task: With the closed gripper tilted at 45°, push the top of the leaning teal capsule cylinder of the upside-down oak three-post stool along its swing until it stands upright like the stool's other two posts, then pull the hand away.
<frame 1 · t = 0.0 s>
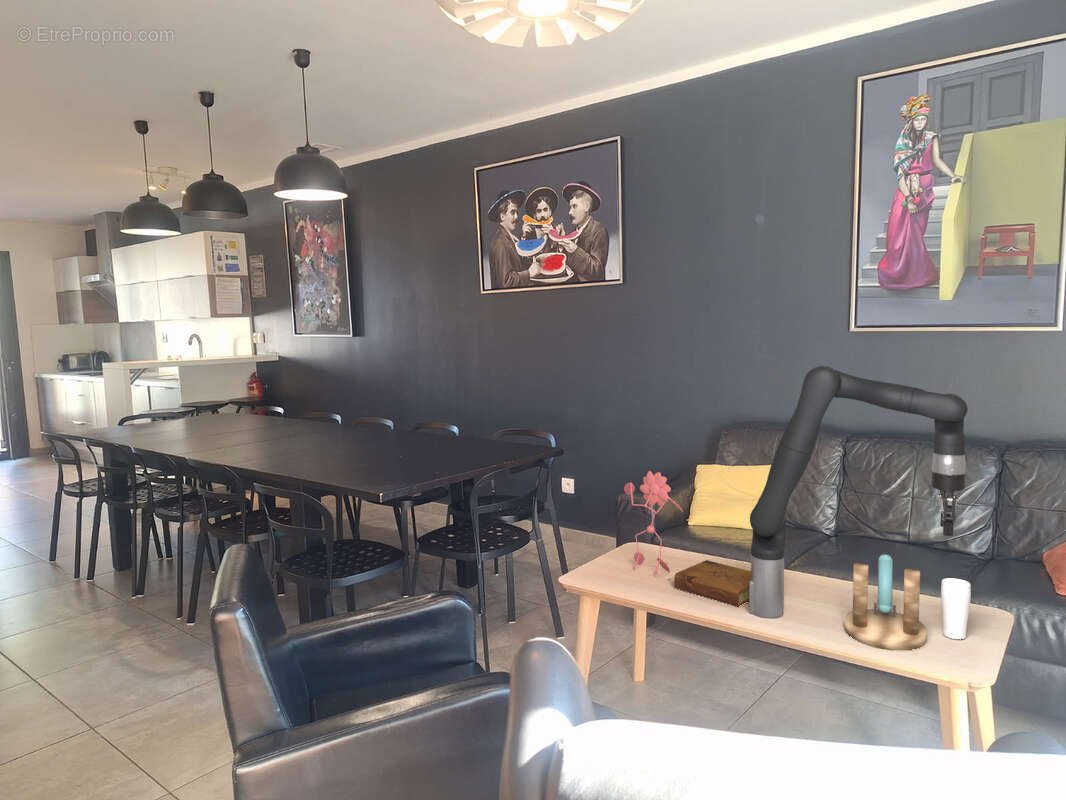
hand: (946, 531, 182), 29 cm above the table, tool pointing down, fingers open, 8 cm apart
diary: (721, 592, 224), on the table
figurine: (656, 569, 245), on the table
drinking glass: (954, 637, 186), on the table
teal capsule cylinder: (885, 583, 196), point 11 cm above the table, hinge at -30.0°
stool: (884, 634, 188), on the table
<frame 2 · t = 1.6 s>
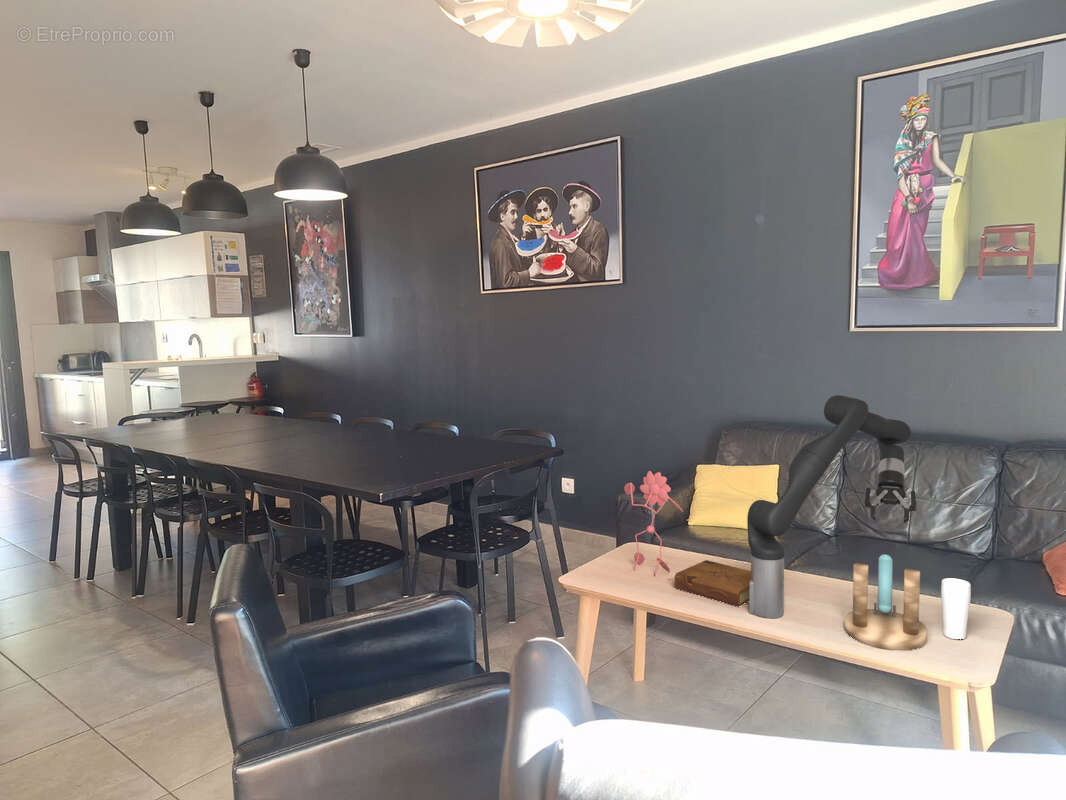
hand: (889, 519, 213), 24 cm above the table, tool tilted 45°, fingers open, 8 cm apart
nothing on the table moved.
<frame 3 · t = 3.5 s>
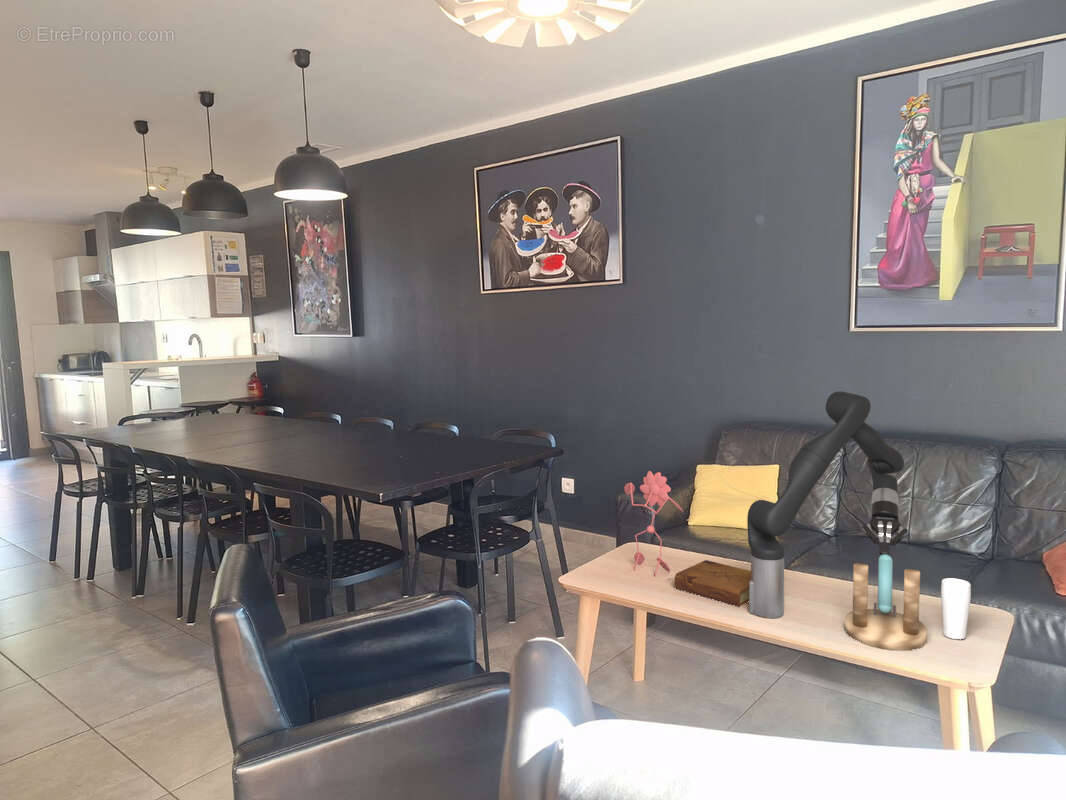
hand: (884, 555, 206), 15 cm above the table, tool tilted 45°, fingers closed
nothing on the table moved.
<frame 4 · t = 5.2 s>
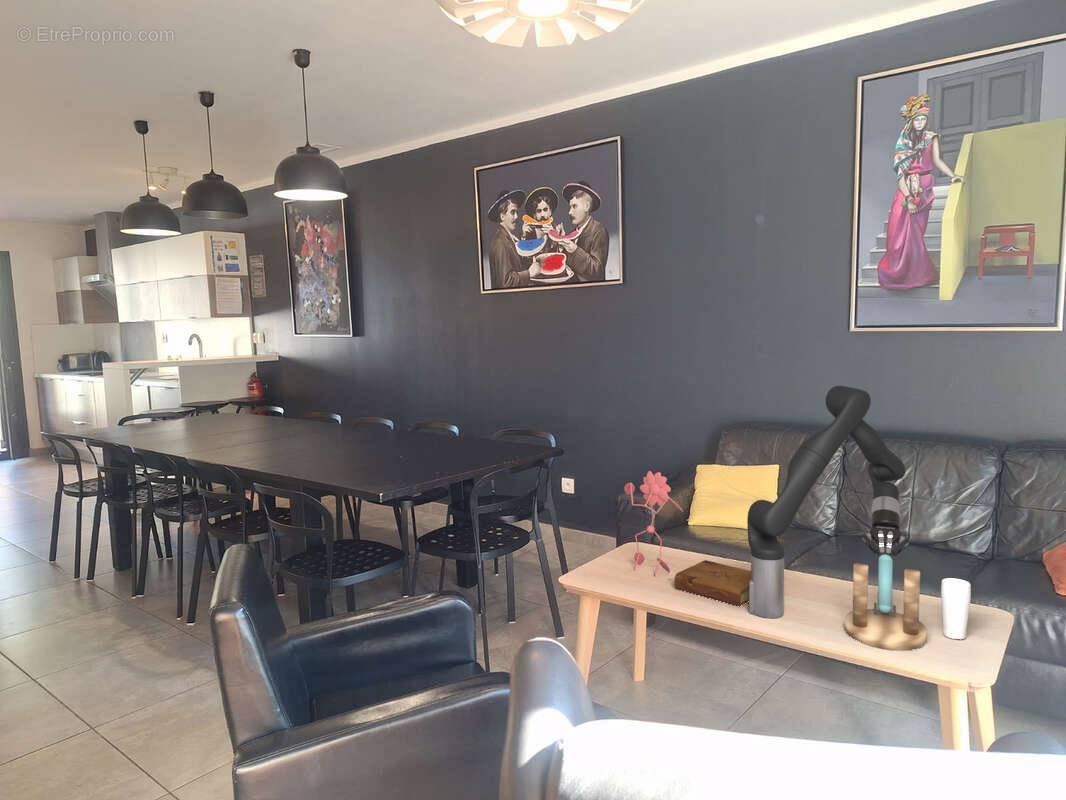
hand: (885, 566, 201), 14 cm above the table, tool tilted 45°, fingers closed
teal capsule cylinder: (885, 583, 196), point 11 cm above the table, hinge at -29.9°, touching gripper
everything else where it was.
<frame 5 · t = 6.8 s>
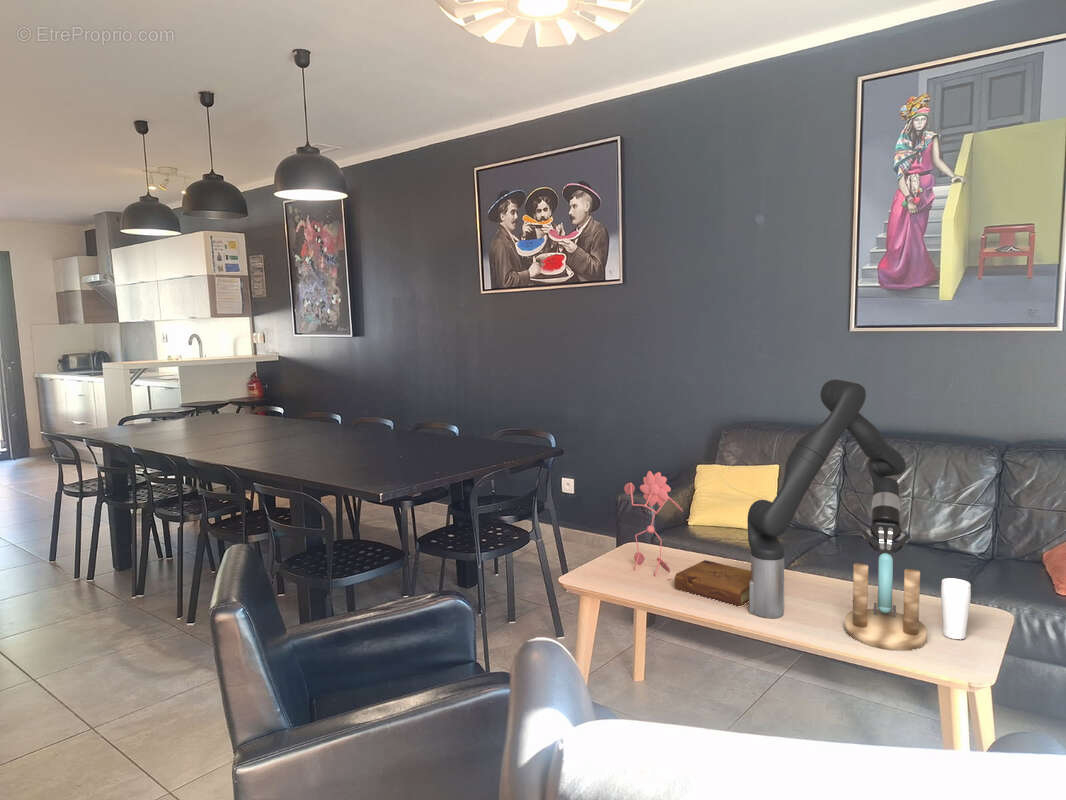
hand: (885, 563, 198), 16 cm above the table, tool tilted 45°, fingers closed
teal capsule cylinder: (885, 583, 195), point 11 cm above the table, hinge at -13.9°, touching gripper
everything else where it was.
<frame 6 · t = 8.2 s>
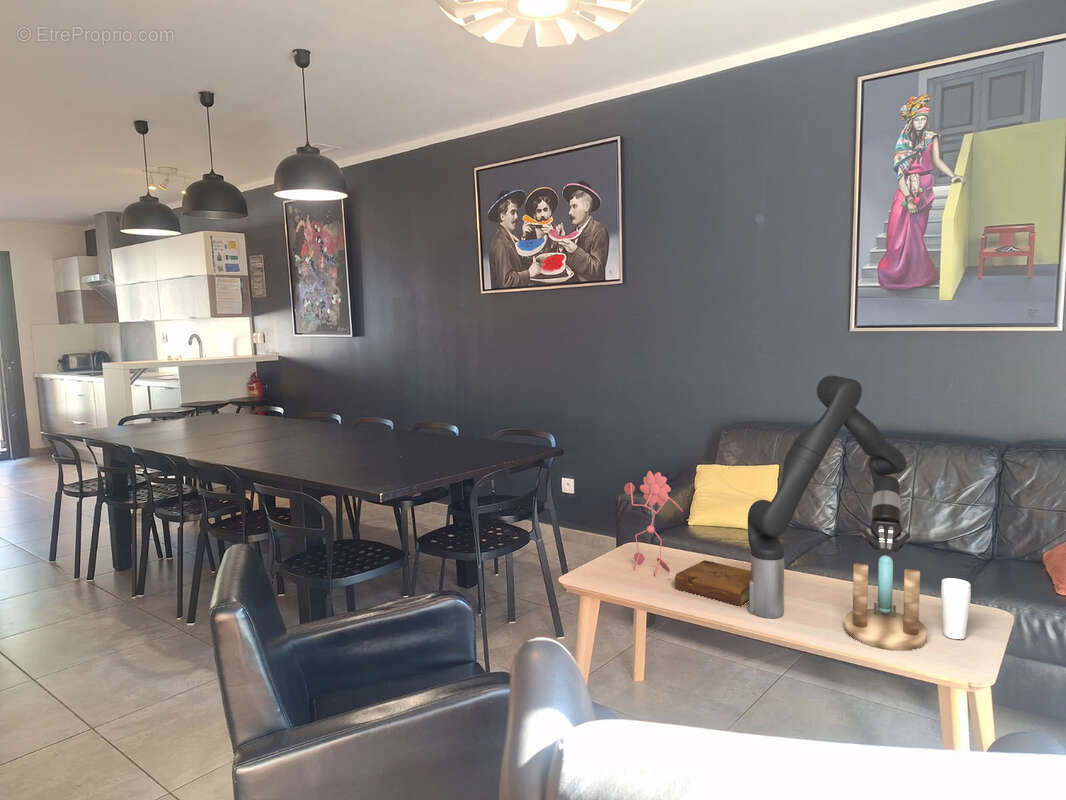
hand: (885, 562, 195), 17 cm above the table, tool tilted 45°, fingers closed
teal capsule cylinder: (885, 584, 193), point 12 cm above the table, hinge at 1.3°, touching gripper
everything else where it was.
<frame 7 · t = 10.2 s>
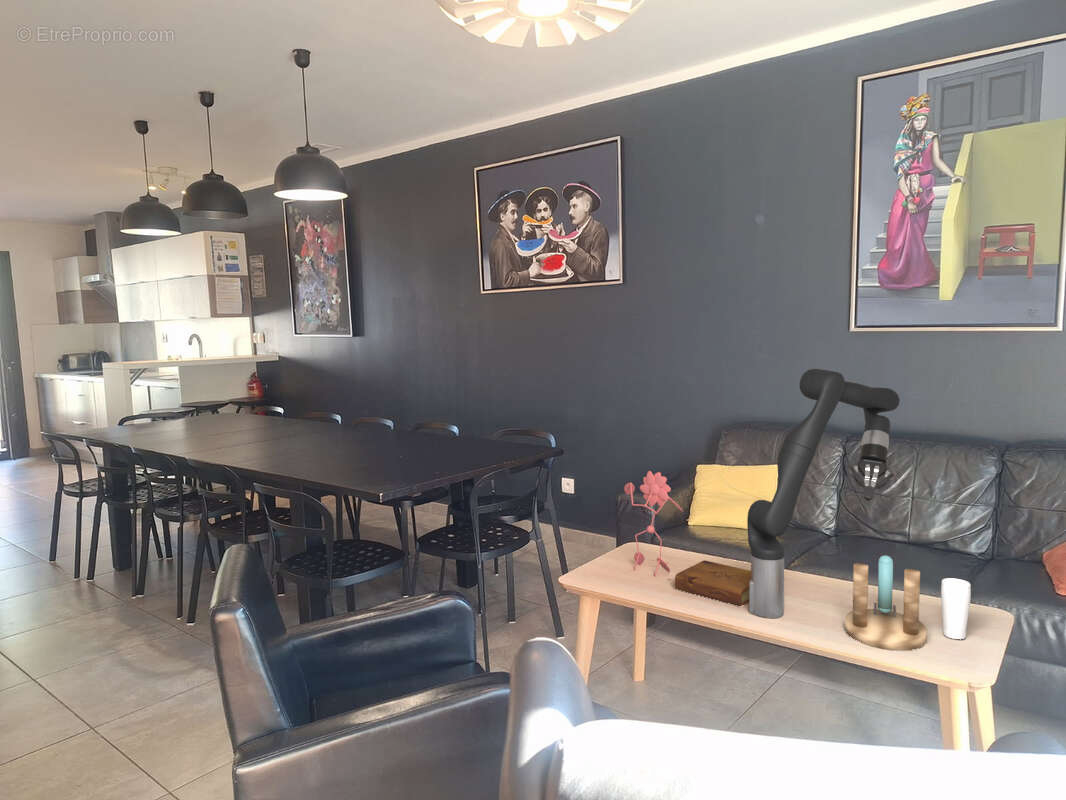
hand: (867, 499, 208), 32 cm above the table, tool tilted 35°, fingers closed
teal capsule cylinder: (885, 584, 193), point 12 cm above the table, hinge at 1.4°
everything else where it was.
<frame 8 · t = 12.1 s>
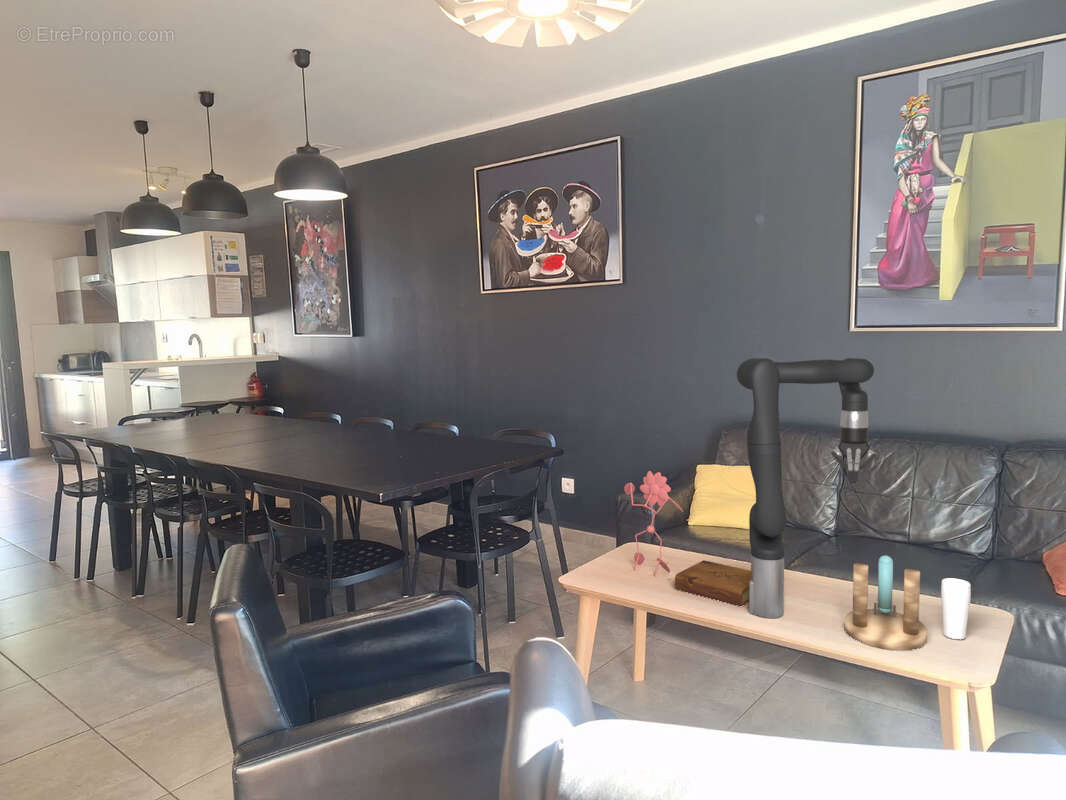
hand: (853, 482, 208), 37 cm above the table, tool pointing down, fingers closed
nothing on the table moved.
at the end: teal capsule cylinder at +1° (first picture: -30°); drinking glass moved 0.2 cm from its start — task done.
